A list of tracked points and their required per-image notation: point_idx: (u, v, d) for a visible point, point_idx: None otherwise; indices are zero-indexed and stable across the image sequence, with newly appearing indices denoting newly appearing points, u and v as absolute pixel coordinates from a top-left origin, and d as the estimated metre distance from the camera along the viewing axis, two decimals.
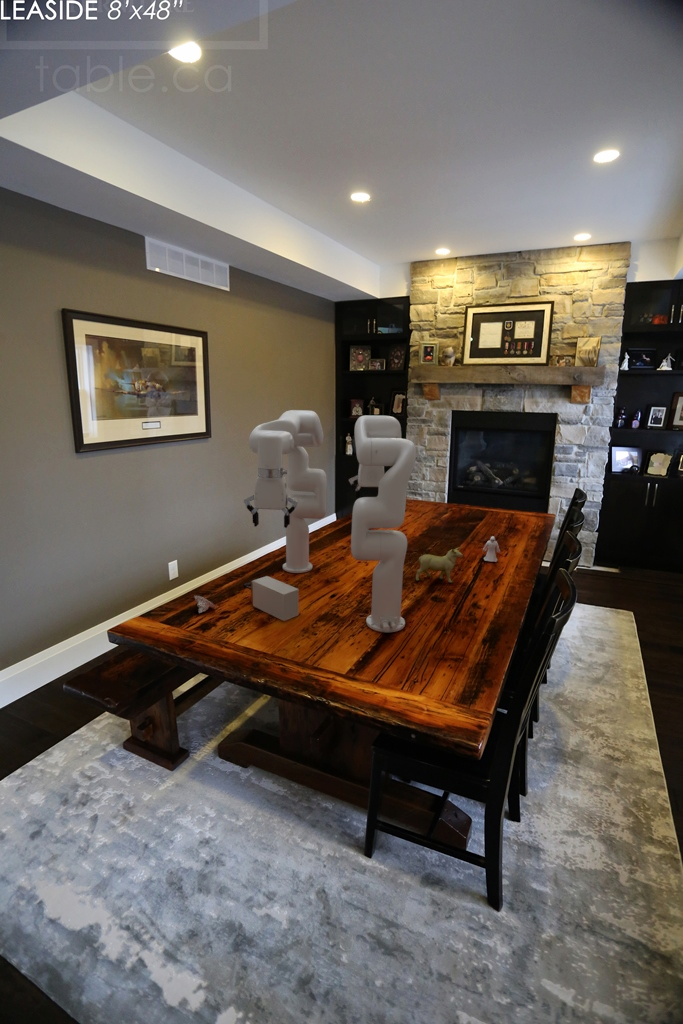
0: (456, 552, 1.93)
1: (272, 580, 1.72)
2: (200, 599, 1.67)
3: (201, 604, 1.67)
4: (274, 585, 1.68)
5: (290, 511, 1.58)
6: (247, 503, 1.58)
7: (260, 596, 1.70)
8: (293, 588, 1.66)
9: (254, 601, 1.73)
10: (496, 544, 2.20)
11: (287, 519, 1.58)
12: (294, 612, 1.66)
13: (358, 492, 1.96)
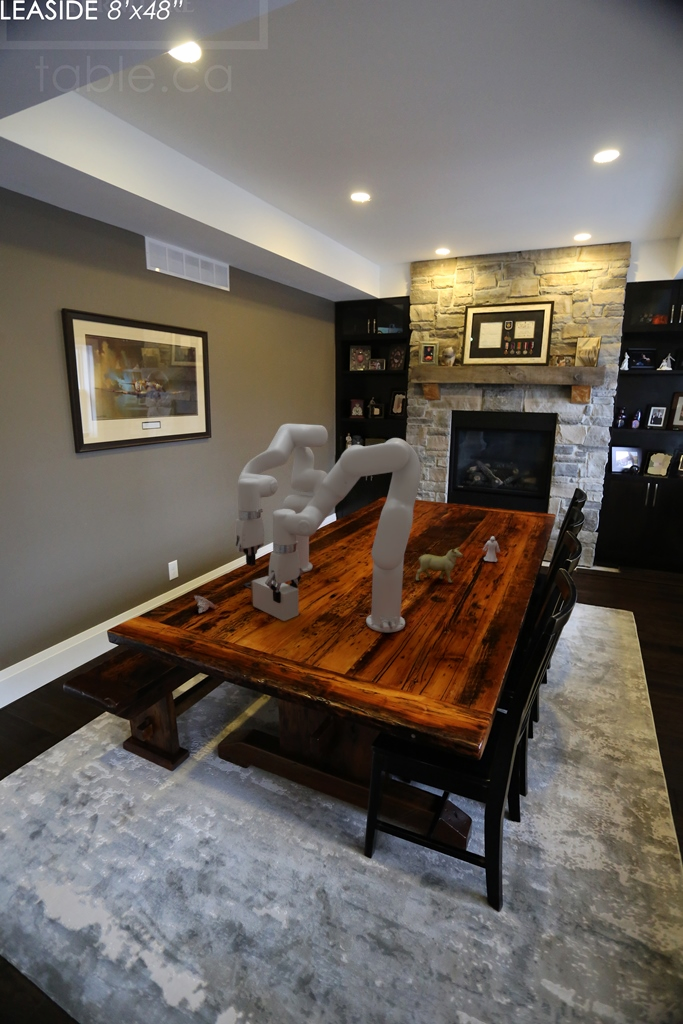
0: (456, 552, 1.93)
1: None
2: (200, 599, 1.67)
3: (201, 604, 1.67)
4: None
5: (256, 549, 1.76)
6: (242, 549, 1.72)
7: (260, 596, 1.70)
8: (293, 588, 1.66)
9: (254, 601, 1.73)
10: (496, 544, 2.20)
11: (254, 557, 1.76)
12: (294, 612, 1.66)
13: (290, 584, 1.69)
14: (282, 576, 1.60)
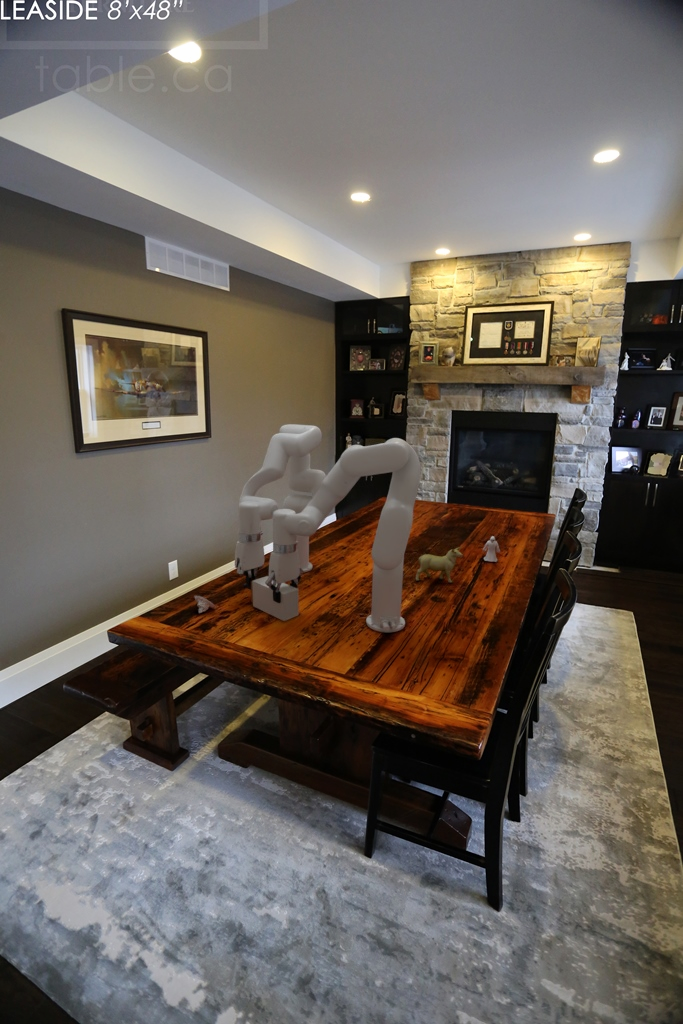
0: (456, 552, 1.93)
1: None
2: (200, 599, 1.67)
3: (201, 604, 1.67)
4: None
5: (256, 571, 1.77)
6: (242, 571, 1.73)
7: (260, 596, 1.70)
8: (293, 588, 1.66)
9: (254, 601, 1.73)
10: (496, 544, 2.20)
11: (254, 579, 1.77)
12: (294, 612, 1.66)
13: (290, 584, 1.69)
14: (282, 576, 1.60)
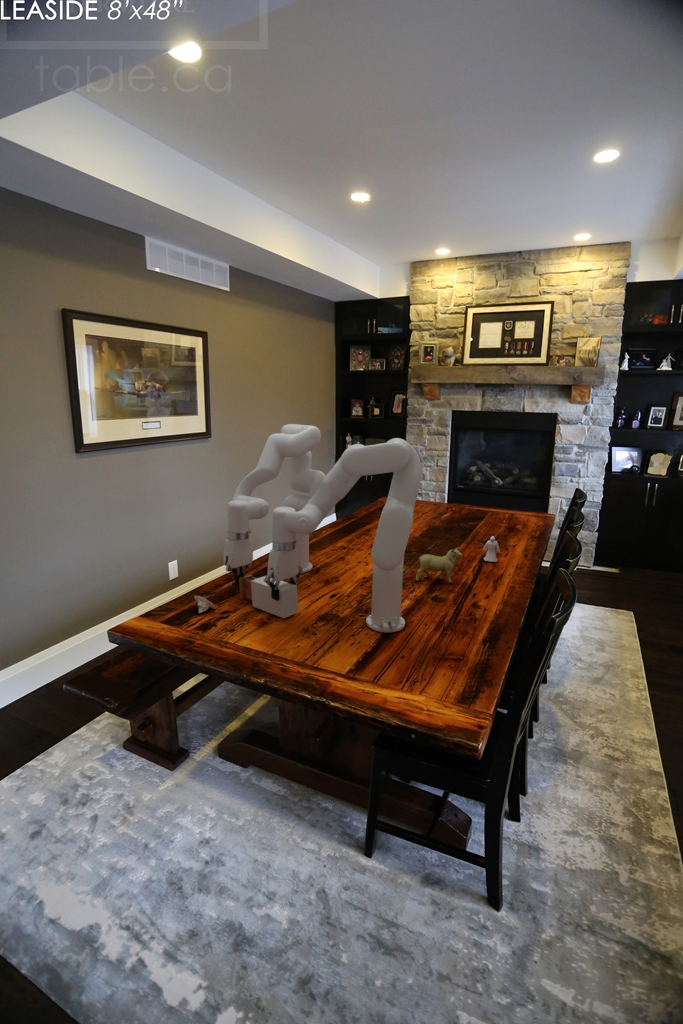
0: (456, 552, 1.93)
1: (270, 579, 1.73)
2: (200, 599, 1.67)
3: (201, 604, 1.67)
4: None
5: None
6: (231, 569, 1.77)
7: (259, 595, 1.70)
8: (291, 585, 1.66)
9: (253, 601, 1.73)
10: (496, 544, 2.20)
11: (243, 576, 1.81)
12: (293, 609, 1.66)
13: (289, 582, 1.69)
14: (281, 573, 1.60)
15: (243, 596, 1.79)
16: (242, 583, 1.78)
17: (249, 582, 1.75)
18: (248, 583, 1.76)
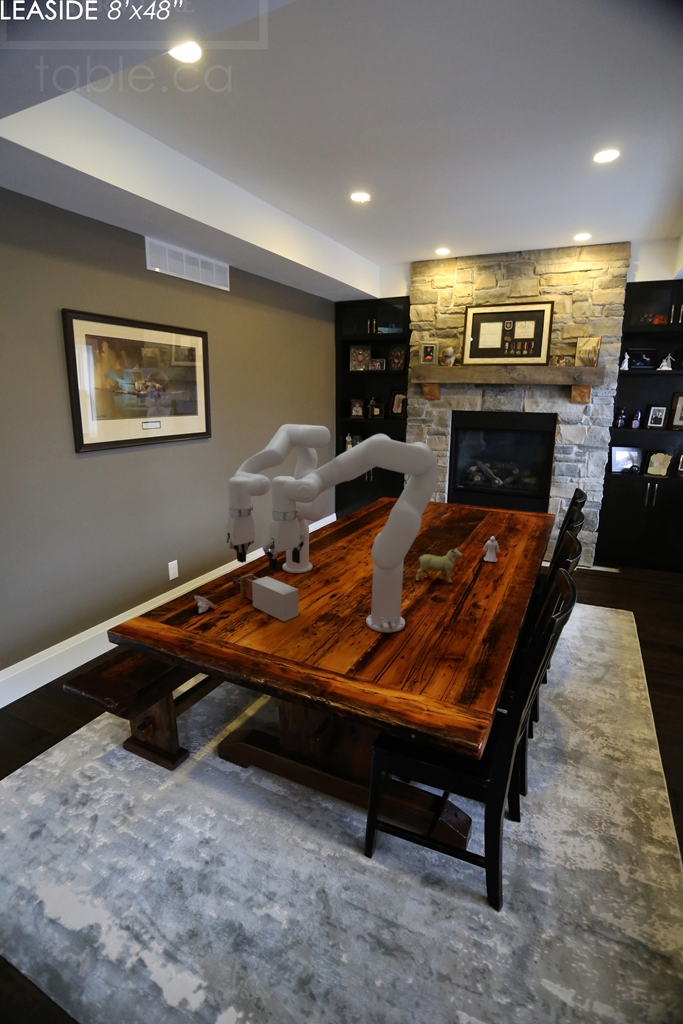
0: (456, 552, 1.93)
1: (272, 580, 1.72)
2: (200, 599, 1.67)
3: (201, 604, 1.67)
4: (274, 585, 1.68)
5: None
6: (233, 546, 1.75)
7: (260, 596, 1.70)
8: (293, 588, 1.66)
9: (254, 601, 1.73)
10: (496, 544, 2.20)
11: None
12: (294, 612, 1.66)
13: None
14: (281, 544, 1.57)
15: (244, 594, 1.79)
16: (243, 582, 1.77)
17: (250, 582, 1.75)
18: (249, 583, 1.75)
